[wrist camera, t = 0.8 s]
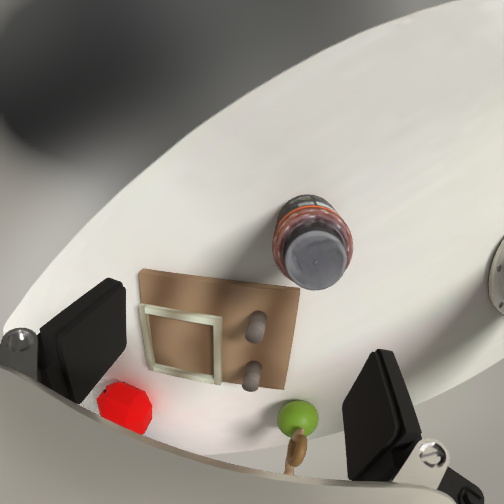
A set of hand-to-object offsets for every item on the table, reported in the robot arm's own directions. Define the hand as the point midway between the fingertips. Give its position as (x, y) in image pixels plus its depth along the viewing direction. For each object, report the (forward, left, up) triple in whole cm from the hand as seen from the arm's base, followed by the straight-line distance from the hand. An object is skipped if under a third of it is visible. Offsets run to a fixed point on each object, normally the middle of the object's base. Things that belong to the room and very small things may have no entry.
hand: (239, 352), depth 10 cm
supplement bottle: (-3, 0, -21) cm, 21 cm away
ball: (+20, +30, -21) cm, 41 cm away
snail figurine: (-5, +25, -21) cm, 33 cm away
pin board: (+6, +14, -20) cm, 25 cm away
